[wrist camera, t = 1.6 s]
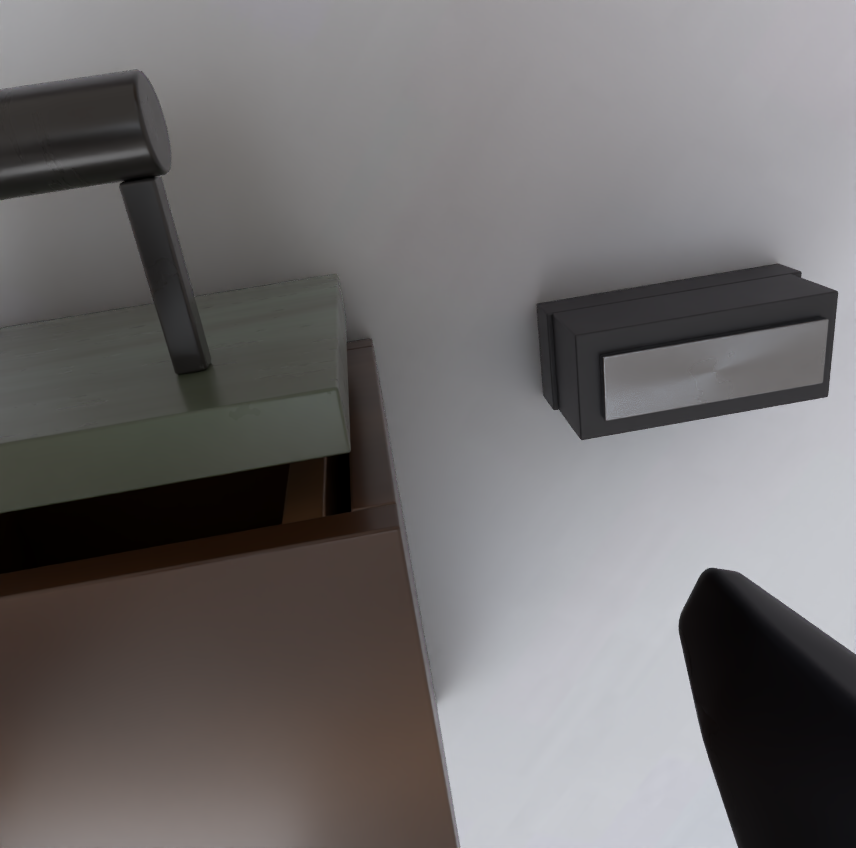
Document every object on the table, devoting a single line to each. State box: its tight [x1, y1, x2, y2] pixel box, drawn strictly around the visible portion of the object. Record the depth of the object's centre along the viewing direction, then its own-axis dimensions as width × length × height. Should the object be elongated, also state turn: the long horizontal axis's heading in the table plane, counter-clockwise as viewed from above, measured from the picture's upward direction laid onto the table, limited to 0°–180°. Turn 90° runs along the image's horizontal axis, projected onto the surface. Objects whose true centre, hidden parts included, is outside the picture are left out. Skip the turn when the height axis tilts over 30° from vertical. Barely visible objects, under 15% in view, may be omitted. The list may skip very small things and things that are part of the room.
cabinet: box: [0, 338, 460, 848], centre depth 19 cm, size 15×13×11 cm
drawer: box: [0, 70, 351, 574], centre depth 17 cm, size 18×11×9 cm, turn 8°
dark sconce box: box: [537, 264, 838, 440], centre depth 21 cm, size 8×3×4 cm, turn 98°
